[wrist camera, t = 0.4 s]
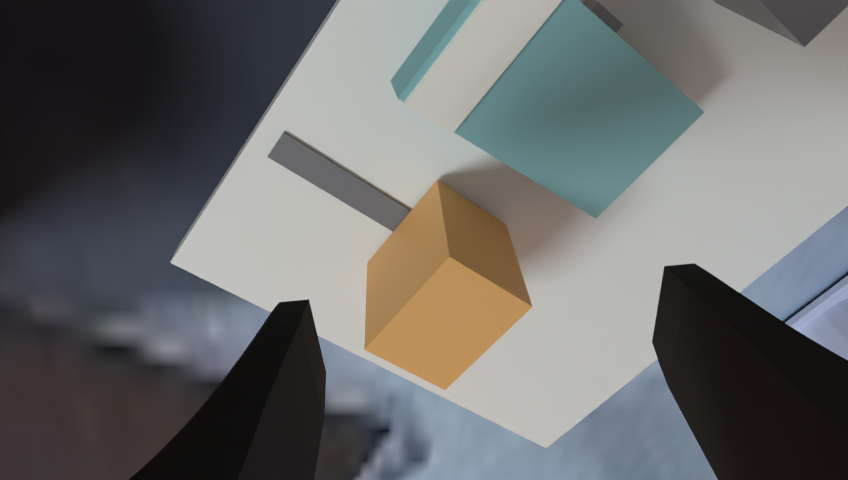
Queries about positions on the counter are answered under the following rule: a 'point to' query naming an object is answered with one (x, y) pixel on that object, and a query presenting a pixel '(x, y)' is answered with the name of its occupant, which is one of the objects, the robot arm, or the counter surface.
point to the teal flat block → (546, 94)
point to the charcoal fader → (789, 15)
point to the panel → (532, 196)
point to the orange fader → (442, 288)
